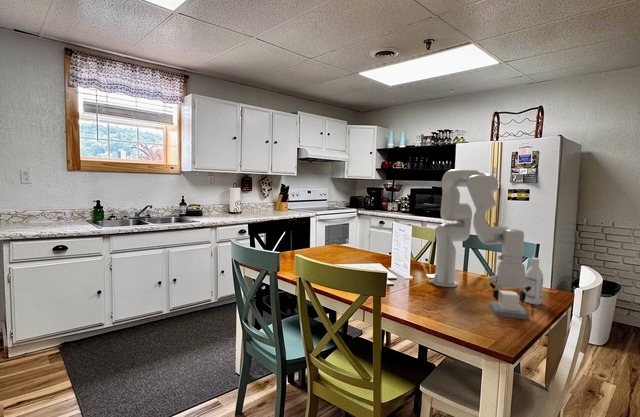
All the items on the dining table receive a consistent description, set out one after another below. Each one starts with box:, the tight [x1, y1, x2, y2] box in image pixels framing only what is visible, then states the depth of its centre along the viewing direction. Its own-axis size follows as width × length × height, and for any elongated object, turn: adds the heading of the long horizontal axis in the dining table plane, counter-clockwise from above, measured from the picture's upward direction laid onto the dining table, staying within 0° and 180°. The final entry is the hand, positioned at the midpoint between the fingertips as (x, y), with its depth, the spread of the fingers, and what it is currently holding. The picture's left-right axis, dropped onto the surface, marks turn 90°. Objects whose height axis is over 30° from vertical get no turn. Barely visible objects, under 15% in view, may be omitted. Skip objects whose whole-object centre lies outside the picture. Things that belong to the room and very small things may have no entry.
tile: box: [488, 301, 530, 320], centre depth 147 cm, size 12×12×2 cm
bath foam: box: [524, 257, 544, 305], centre depth 160 cm, size 7×7×20 cm
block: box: [498, 290, 520, 311], centre depth 147 cm, size 6×6×6 cm
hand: (508, 300), depth 147 cm, fingers open, 9 cm apart
